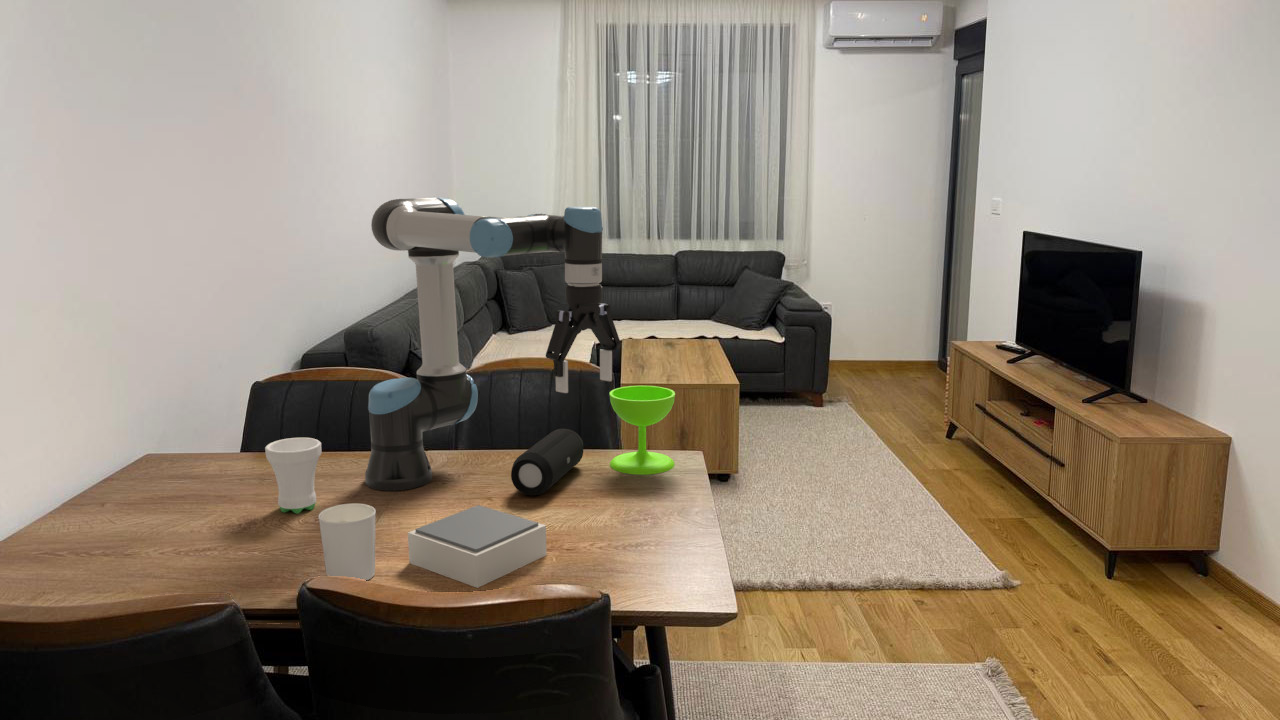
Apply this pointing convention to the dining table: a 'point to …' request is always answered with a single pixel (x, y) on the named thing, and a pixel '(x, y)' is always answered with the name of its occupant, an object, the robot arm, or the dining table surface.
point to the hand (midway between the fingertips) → (584, 386)
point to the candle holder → (349, 540)
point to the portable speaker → (547, 462)
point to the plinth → (477, 545)
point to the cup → (295, 471)
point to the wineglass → (642, 426)
